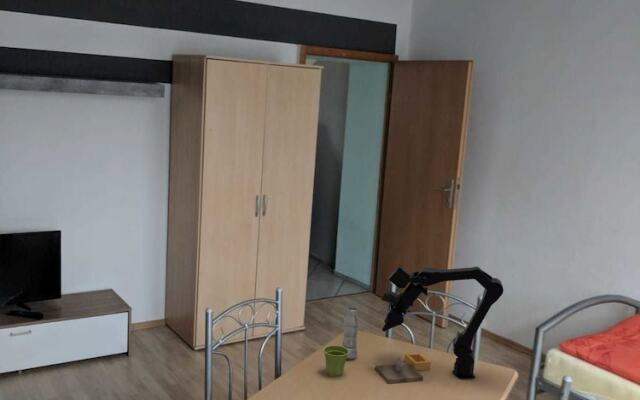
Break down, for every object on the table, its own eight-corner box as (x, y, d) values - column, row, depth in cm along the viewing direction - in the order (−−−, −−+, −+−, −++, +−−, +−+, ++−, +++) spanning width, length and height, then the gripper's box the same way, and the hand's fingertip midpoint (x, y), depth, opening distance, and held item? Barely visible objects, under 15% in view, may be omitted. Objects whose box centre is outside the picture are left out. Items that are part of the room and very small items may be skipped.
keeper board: (408, 367, 252) (410, 349, 251) (422, 380, 241) (424, 362, 240) (374, 369, 248) (376, 351, 246) (387, 383, 236) (389, 365, 235)
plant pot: (345, 379, 237) (346, 357, 236) (319, 376, 239) (321, 353, 237) (349, 369, 246) (351, 347, 245) (324, 365, 248) (326, 343, 246)
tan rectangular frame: (419, 360, 259) (420, 352, 259) (430, 369, 251) (430, 362, 250) (404, 361, 257) (404, 353, 257) (414, 370, 249) (415, 363, 248)
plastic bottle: (357, 355, 260) (361, 306, 257) (356, 362, 253) (360, 312, 250) (341, 353, 260) (344, 305, 257) (339, 360, 254) (343, 310, 250)
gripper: (394, 276, 257) (370, 305, 261) (390, 289, 239) (364, 321, 243) (417, 294, 256) (392, 323, 260) (414, 308, 238) (388, 340, 242)
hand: (384, 326), depth 251 cm, fingers open, 9 cm apart
